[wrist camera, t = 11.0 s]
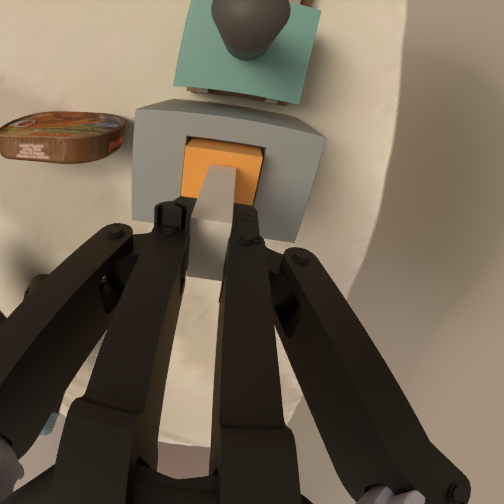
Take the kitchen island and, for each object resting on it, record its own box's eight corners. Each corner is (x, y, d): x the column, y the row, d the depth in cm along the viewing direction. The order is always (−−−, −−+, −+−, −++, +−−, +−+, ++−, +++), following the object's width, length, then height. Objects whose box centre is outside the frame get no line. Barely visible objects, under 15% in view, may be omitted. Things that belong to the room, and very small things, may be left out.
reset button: (187, 195, 19) (179, 214, 17) (194, 136, 17) (185, 146, 14) (247, 204, 20) (248, 224, 17) (259, 146, 17) (262, 157, 15)
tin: (138, 116, 23) (100, 132, 16) (134, 145, 25) (97, 172, 18) (31, 111, 20) (-17, 129, 13) (30, 136, 22) (-16, 159, 15)
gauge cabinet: (165, 174, 27) (132, 220, 19) (173, 98, 22) (135, 109, 14) (282, 191, 28) (300, 243, 20) (301, 118, 24) (332, 139, 16)
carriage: (289, 101, 21) (340, 122, 10) (184, 85, 19) (122, 90, 9) (308, 20, 16) (374, -29, 5) (201, 3, 15) (162, -64, 4)
